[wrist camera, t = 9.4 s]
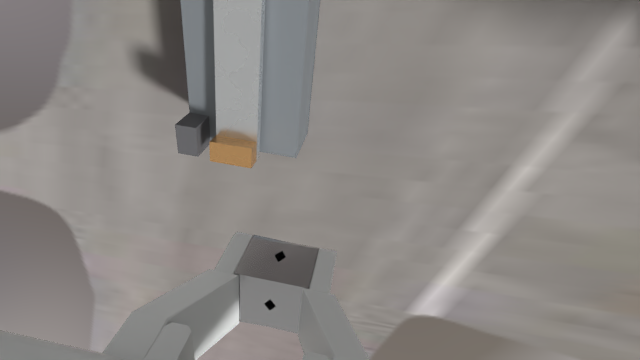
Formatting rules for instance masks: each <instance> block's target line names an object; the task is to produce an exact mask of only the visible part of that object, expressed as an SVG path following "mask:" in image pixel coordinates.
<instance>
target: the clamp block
mask: <svg viewBox="0 0 640 360" xmlns="http://www.w3.org/2000/svg"><path fill="white" fill-rule="evenodd" d="M180 1H181V14H182V26H183V38H184V50H185V62H186V74H187V86H188V98H189V110H190V113H189V114H187V115H186V116H185V117H184V118H183V119H181V120H180V121H179V122H178V123H176V124H175V128H176V137H177V147H178V153H181V154H186V155H192V156H199V155H200V154H201V153H202V152H203V151H204V150H205V148H206V147H207V146H208V145H209V144H210V143H209V142H210V141H211V140H212V139H213V138H214V137H215V136H216V100H215V55H214V11H213V0H180ZM319 7H320V0H265V22H264V48H263V74H262V100H261V126H260V152H265V153H271V154H276V155H282V156H288V157H294V158H296V157H297V155H298V153H299V150H300V148H301V146H302V144H303V142H304V140H305V137H306V135H307V132H308V122H309V112H310V101H311V91H312V80H313V70H314V59H315V49H316V38H317V28H318V17H319Z"/></svg>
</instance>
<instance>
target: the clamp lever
mask: <svg viewBox="0 0 640 360" xmlns="http://www.w3.org/2000/svg"><path fill="white" fill-rule="evenodd" d="M213 11H214V55H215V100H216V136H215V137H214V138H213V139H212V140H211V141H210V142H209V143H210V161H213V162H219V163H224V164H230V165H235V166H241V167H247V168H252V166H253V165H254V163H255V162H256V161H257V159H258V158H259V152H260V126H261V100H262V74H263V48H264V22H265V0H213Z"/></svg>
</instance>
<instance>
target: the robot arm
mask: <svg viewBox="0 0 640 360" xmlns="http://www.w3.org/2000/svg"><path fill="white" fill-rule="evenodd" d="M336 256H337V251H336V250H330V249H324V248H317V247H312V246H306V245H301V244H296V243H290V242H285V241H280V240H275V239H271V238H266V237H261V236H257V235H250V234H246V233H241V232H236V233H235V234H234V235H233V237H232V239H231V241H230V242H229V244H228V246H227V248H226V250H225V251H224V253H223V255H222V257H221V259H220V260H219V262H218V264H217V266H216V267H215V269H214V270H210V269H209V270H207V271H205V272H203V273H201V274H200V275H198V276H196V277H194V278H192V279H191V280H189V281H187V282H185V283H183V284H182V285H180V286H178V287H176V288H174V289H173V290H171V291H169V292H167V293H165V294H164V295H162V296H160V297H158V298H156V299H155V300H153V301H151V302H149V303H147V304H146V305H144V306H142V307H140V308H138V309H137V310H135V311H133V312H132V313H131V314H130V316H129V317H128V318H127V320H126V321H125V323H124V324H123V325H122V327H121V328H120V329H119V331H118V332H117V334H116V335H115V336H114V338H113V339H112V341H111V342H110V343H109V345H108V346H107V348H106V349H105V350H104V352H103V353H99V352H95V351H90V350H86V349H81V348H77V347H72V346H68V345H64V344H59V343H55V342H50V341H46V340H41V339H37V338H33V337H28V336H24V335H20V334H15V333H11V332H6V331H2V330H0V360H196V359H198V358H199V357H200V356H201V355H202V354H203V353H205V352H206V351H207V350H208V349H209V348H211V347H212V346H213V345H214V344H215V343H216V342H218V341H219V340H220V339H221V338H222V337H223V336H225V335H226V334H227V333H228V332H229V331H231V330H232V329H233V328H234V327H235V326H236V325H238V324H239V321H240V322H246V323H251V324H257V325H262V326H268V327H272V328H276V329H280V330H285V331H289V332H293V333H297V334H298V337H299V340H300V343H301V346H302V349H303V352H304V356H303V359H302V360H370V359H369V357H368V355H367V354H366V352H365V350H364V348H363V346H362V344H361V342H360V341H359V339H358V337H357V335H356V333H355V331H354V330H353V328H352V326H351V324H350V322H349V320H348V318H347V317H346V315H345V313H344V311H343V309H342V307H341V306H340V304H339V302H338V300H337V298H336V296H335V295H334V294H330V290H331V285H332V279H333V273H334V267H335V261H336Z"/></svg>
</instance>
